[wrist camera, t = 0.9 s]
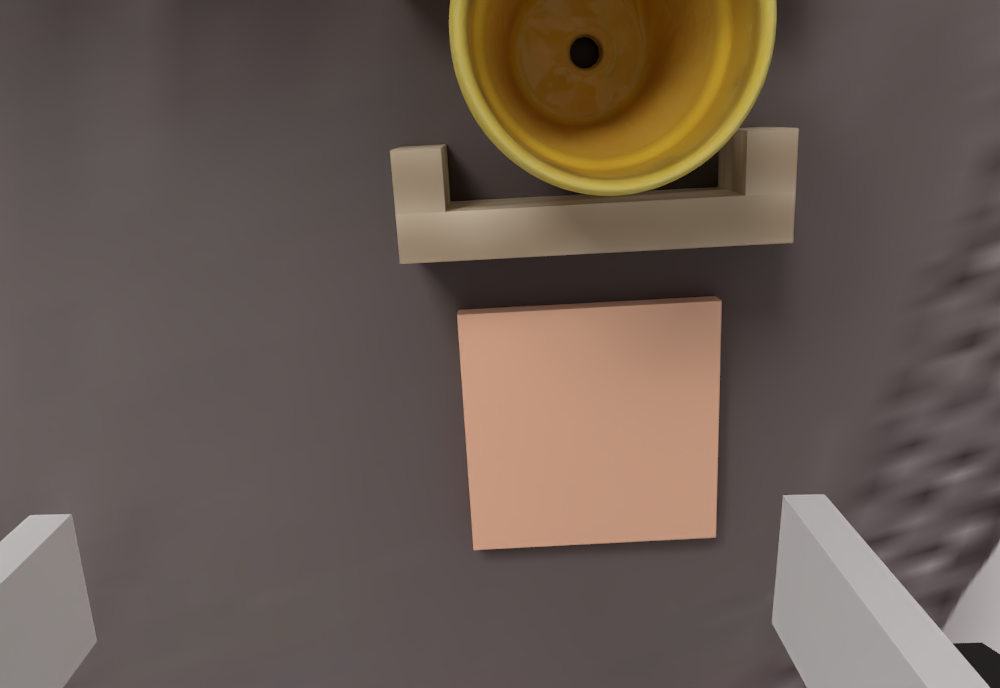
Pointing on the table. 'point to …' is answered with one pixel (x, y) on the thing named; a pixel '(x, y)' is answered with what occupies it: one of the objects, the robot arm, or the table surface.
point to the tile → (591, 421)
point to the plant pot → (611, 84)
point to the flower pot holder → (600, 209)
